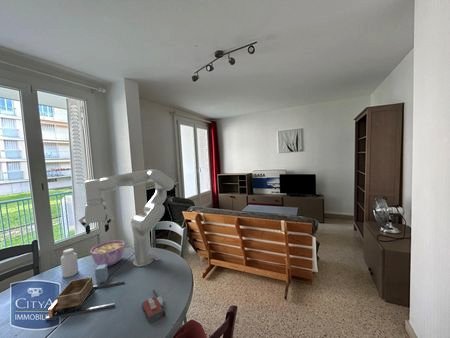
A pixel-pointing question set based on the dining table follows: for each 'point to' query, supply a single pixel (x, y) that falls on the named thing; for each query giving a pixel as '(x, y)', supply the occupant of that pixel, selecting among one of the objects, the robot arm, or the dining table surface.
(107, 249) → the bowl of food
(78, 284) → the small wooden crate
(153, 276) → the dining table surface
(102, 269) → the block
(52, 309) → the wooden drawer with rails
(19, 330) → the dining table surface
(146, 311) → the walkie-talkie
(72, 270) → the pill bottle
